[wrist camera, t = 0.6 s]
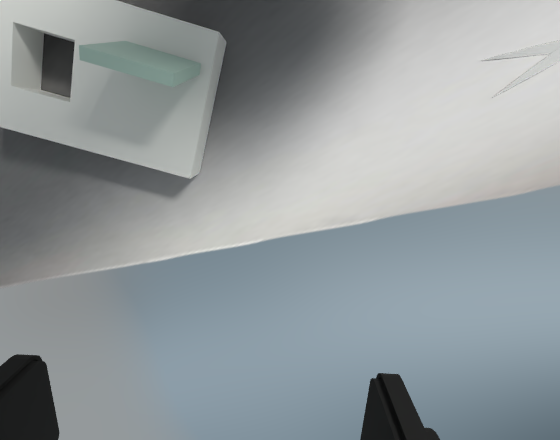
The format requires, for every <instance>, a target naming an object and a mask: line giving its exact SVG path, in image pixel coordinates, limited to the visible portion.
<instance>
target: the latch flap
mask: <svg viewBox="0 0 560 440" xmlns="http://www.w3.org/2000/svg"><path fill="white" fill-rule="evenodd" d="M79 55H80V60H81V61H85V62H88V63H92V64H95V65H99V66H102V67H105V68H109V69H112V70H116V71H119V72H123V73H126V74H129V75H133V76H136V77H140V78H143V79H147V80H150V81H153V82H157V83H160V84H164V85H167V86H171V87H174V86H176V85H179V84H181V83H183V82H185V81H187V80H189V79H191V78H194V77H196V76H198V75H200V68H201V63H198V62H195V61H192V60H188V59H185V58H182V57H178V56H175V55H172V54H168V53H165V52H162V51H158V50H155V49H152V48H148V47H145V46H142V45H138V44H135V43H131V42H128V41H118V42H108V43H97V44H87V45H79Z"/></svg>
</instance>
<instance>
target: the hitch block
mask: <svg viewBox="0 0 560 440" xmlns="http://www.w3.org/2000/svg"><path fill="white" fill-rule="evenodd" d="M44 33H45V34H48V35H51V36H55V37H58V38H62V39H65V40H68V41H72V42H75V46H74V58H73V71H72V83H71V95H70V98H68V97H65V96H61V95H58V94H54V93H51V92H47V91H44V90H41V80H42V62H43V44H44ZM118 41H128V42H131V43H135V44H138V45H142V46H145V47H148V48H152V49H155V50H158V51H162V52H165V53H168V54H172V55H175V56H178V57H182V58H185V59H188V60H192V61H195V62H198V63H201V68H200V75H198V76H196V77H194V78H191V79H189V80H187V81H185V82H183V83H181V84H179V85H176V86H174V87H171V86H167V85H164V84H160V83H157V82H153V81H150V80H147V79H143V78H140V77H136V76H133V75H129V74H126V73H123V72H119V71H116V70H112V69H109V68H105V67H102V66H99V65H95V64H92V63H88V62H85V61H81V60H80V55H79V45H87V44H97V43H108V42H118ZM226 43H227V42H226V41H225V39H224V38H223V36H222V35H221V34H220V32H218V31H215V30H211V29H208V28H205V27H202V26H198V25H195V24H192V23H188V22H185V21H182V20H179V19H175V18H172V17H169V16H166V15H162V14H159V13H156V12H153V11H149V10H146V9H143V8H140V7H136V6H133V5H130V4H127V3H123V2H120V1H117V0H0V127H2V128H6V129H9V130H13V131H17V132H20V133H24V134H28V135H31V136H35V137H39V138H42V139H46V140H50V141H53V142H57V143H61V144H64V145H68V146H72V147H75V148H79V149H83V150H86V151H90V152H94V153H97V154H101V155H105V156H108V157H112V158H116V159H119V160H123V161H127V162H130V163H134V164H138V165H141V166H145V167H149V168H152V169H156V170H160V171H163V172H167V173H171V174H174V175H178V176H182V177H186V178H189V179H191V178H192V177H194V176H196V175H197V174H199V173H200V170H201V165H202V160H203V155H204V150H205V145H206V141H207V136H208V131H209V126H210V121H211V116H212V111H213V106H214V102H215V97H216V92H217V87H218V82H219V77H220V72H221V67H222V63H223V58H224V53H225V48H226Z"/></svg>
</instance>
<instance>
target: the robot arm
mask: <svg viewBox="0 0 560 440" xmlns="http://www.w3.org/2000/svg"><path fill="white" fill-rule="evenodd" d="M58 438H59V428H58V423H57V418H56V412H55V407H54V402H53V396H52V392H51V386H50V381H49V376H48V371H47V365H46V363H45V362H43V361H42V359H41V358H40V356H37V355H14V356H12V357H11V358H9V359H8V360H7V361H6V362H5V363H4V364H2V365H1V366H0V440H58ZM361 440H440V439H439V437H438V435H437V434H436V432H435V431H434V430H432V429H431V428H424V426H423V424H422V422H421V420H420V418H419V416H418V413H417V411H416V409H415V407H414V405H413V403H412V400H411V398H410V396H409V394H408V392H407V389H406V387H405V385H404V383H403V381H402V379H401V377H400V375H398V374H383V373H379V374H378V375H377V377H376V379H373V378H372V379H371V381H370V386H369V392H368V398H367V404H366V410H365V415H364V421H363V428H362V434H361Z"/></svg>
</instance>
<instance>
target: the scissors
mask: <svg viewBox="0 0 560 440" xmlns="http://www.w3.org/2000/svg"><path fill="white" fill-rule="evenodd" d="M551 53H552V54H551ZM546 54H550V55H549V56H547V57H546V58H545V59H543V60H542V61H540V62H539V63H538V64H536V65H535V66H534V67H532V68H531V69H529V70H528V71H527V72H525V73H524V74H523V75H521V76H520V77H519V78H517V79H516V80H515V81H513V82H512V83H511V84H509V85H508V86H507V87H505V88H504V89H503V90H501V91H500V92H499V93H497V94H496V95H498V94H500V93H502V92H504V91H506V90H507V89H509V88H511V87H513V86H515V85H517V84H519V83H521V82H522V81H524V80H526V79H528V78H530V77H532V76H534V75H535V74H537V73H539V72H541V71H543V70H545V69H547V68H548V67H550V66H552V65H554V64H555V63H557V62H559V61H560V40H559V41H554V42H549V43H545V44H541V45H537V46H533V47H529V48H525V49H521V50H518V51H514V52H510V53H506V54H502V55H498V56H495V57H491V58H488V59H485V60H494V59H505V58H516V57H524V56H532V55H546ZM482 61H483V60H482ZM496 95H495V96H496ZM493 97H494V96H493ZM493 97H492V98H493Z"/></svg>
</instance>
